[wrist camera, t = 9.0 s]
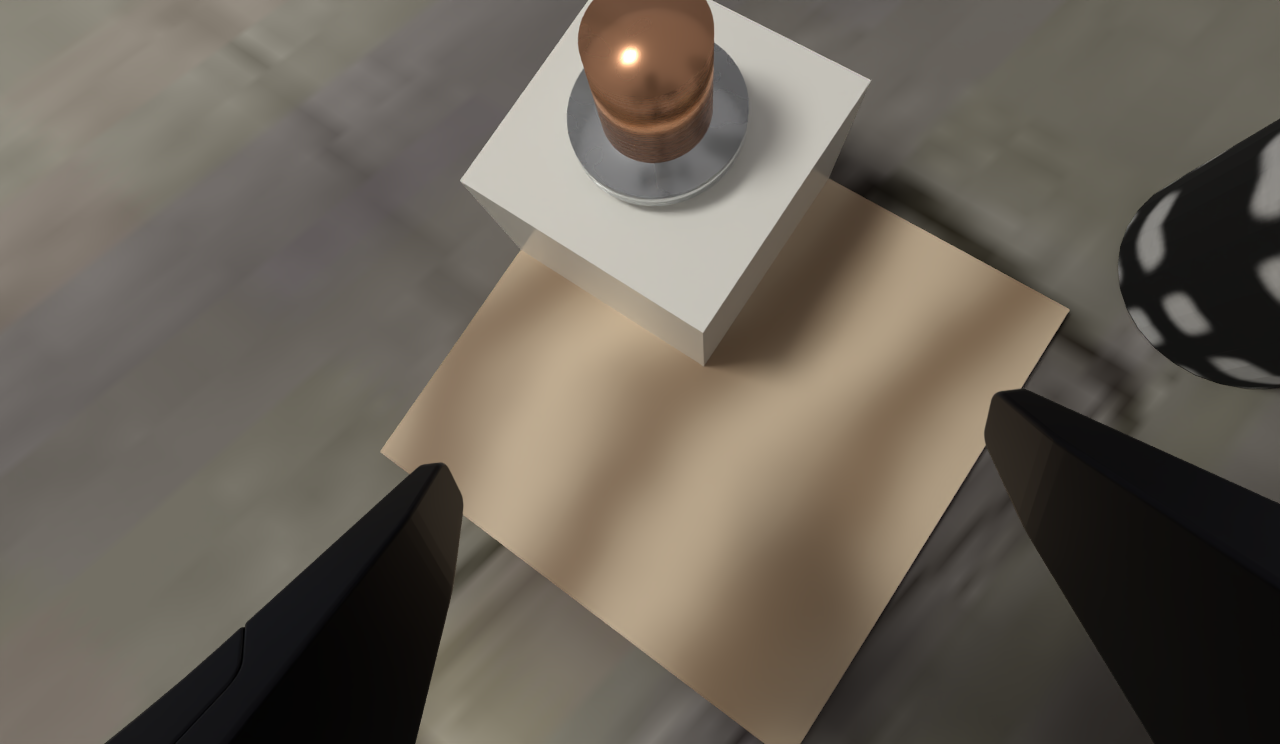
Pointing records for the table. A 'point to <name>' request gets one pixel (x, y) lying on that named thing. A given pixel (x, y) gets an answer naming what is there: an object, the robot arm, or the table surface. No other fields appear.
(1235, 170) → the white-spotted black cylinder
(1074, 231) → the table surface
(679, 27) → the plunger
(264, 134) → the table surface
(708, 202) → the white square block
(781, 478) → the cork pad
